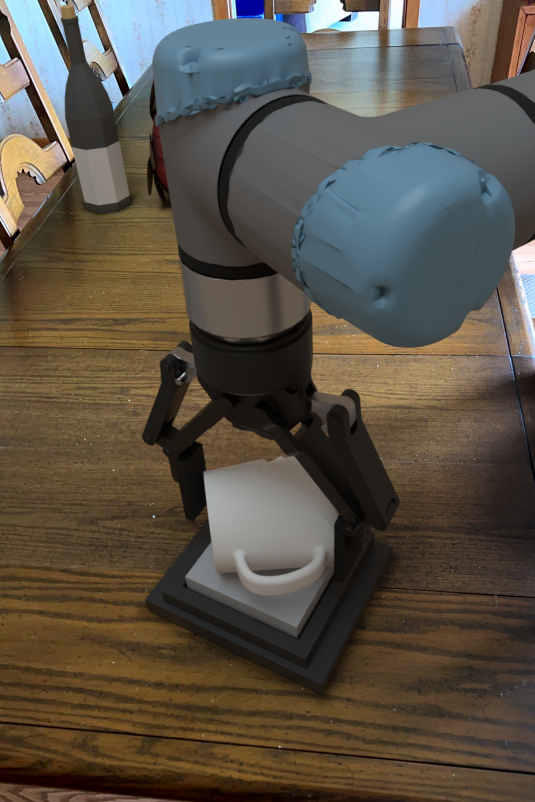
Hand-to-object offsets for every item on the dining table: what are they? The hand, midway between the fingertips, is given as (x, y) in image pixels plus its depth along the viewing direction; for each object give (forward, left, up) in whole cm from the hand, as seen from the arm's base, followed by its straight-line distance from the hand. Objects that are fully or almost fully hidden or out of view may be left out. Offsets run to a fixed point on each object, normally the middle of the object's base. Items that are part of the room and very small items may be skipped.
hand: (268, 537), depth 57 cm
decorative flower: (+42, -68, -6) cm, 80 cm away
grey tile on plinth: (0, 0, -4) cm, 4 cm away
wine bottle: (+62, -55, -6) cm, 83 cm away
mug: (-1, 0, -2) cm, 2 cm away
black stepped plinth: (0, 0, -6) cm, 6 cm away
